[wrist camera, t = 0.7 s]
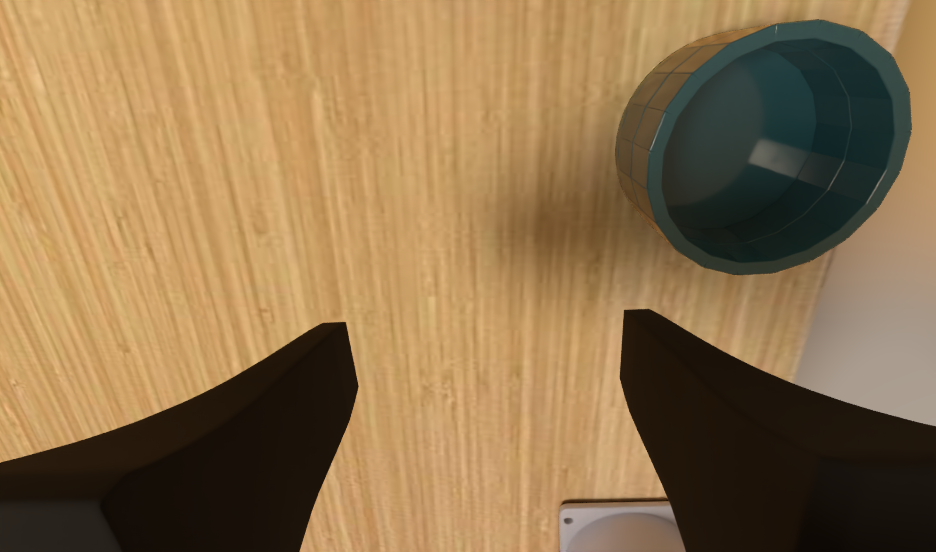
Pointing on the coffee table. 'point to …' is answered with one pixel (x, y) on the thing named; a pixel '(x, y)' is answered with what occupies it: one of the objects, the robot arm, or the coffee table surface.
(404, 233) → the coffee table surface
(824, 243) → the bowl
